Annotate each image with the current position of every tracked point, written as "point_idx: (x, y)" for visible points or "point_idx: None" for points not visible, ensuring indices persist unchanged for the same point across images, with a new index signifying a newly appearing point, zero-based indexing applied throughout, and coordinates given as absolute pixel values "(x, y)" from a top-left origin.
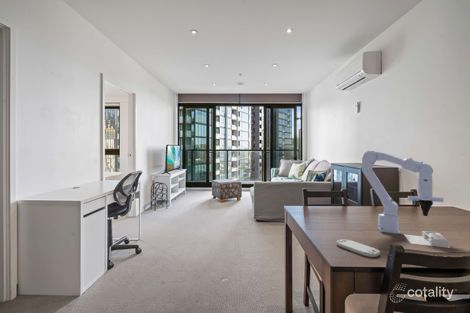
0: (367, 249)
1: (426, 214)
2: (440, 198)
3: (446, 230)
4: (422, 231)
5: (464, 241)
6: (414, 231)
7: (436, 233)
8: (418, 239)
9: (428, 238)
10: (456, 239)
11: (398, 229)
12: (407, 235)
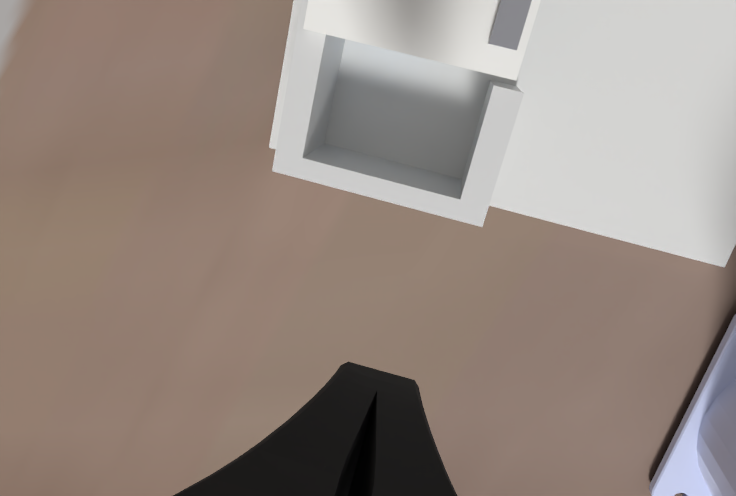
0: None
1: (367, 380)
2: None
3: (27, 488)
4: (489, 202)
5: (5, 80)
6: None
7: (348, 33)
8: (647, 22)
9: (442, 104)
10: (65, 155)
11: (732, 411)
12: (693, 222)
